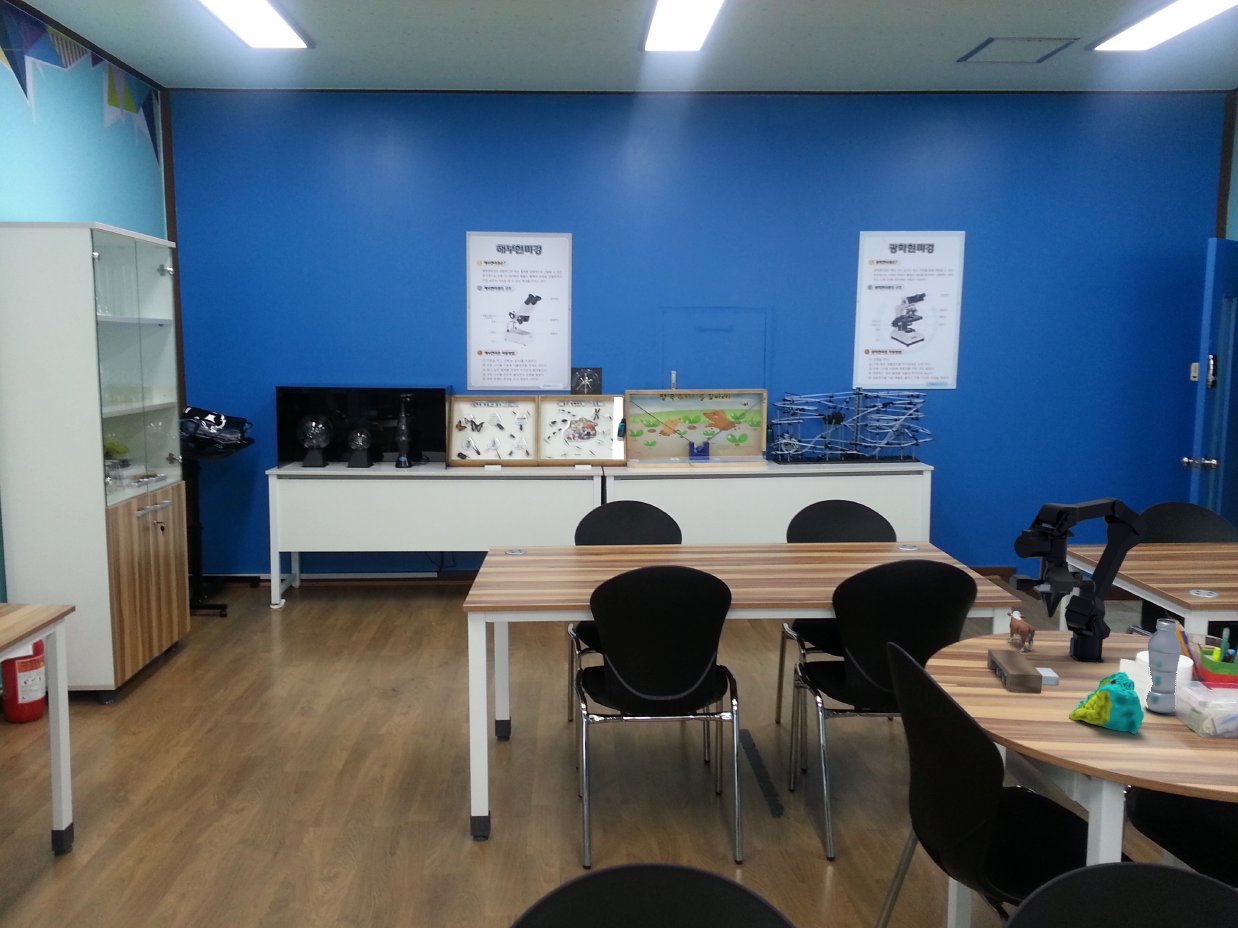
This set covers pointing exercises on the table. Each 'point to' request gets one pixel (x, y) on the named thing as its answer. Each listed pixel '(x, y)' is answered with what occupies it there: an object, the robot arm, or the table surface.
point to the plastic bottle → (1163, 666)
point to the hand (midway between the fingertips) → (1049, 617)
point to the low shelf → (1015, 671)
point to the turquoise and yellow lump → (1112, 705)
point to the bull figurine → (1021, 630)
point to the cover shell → (1047, 676)
